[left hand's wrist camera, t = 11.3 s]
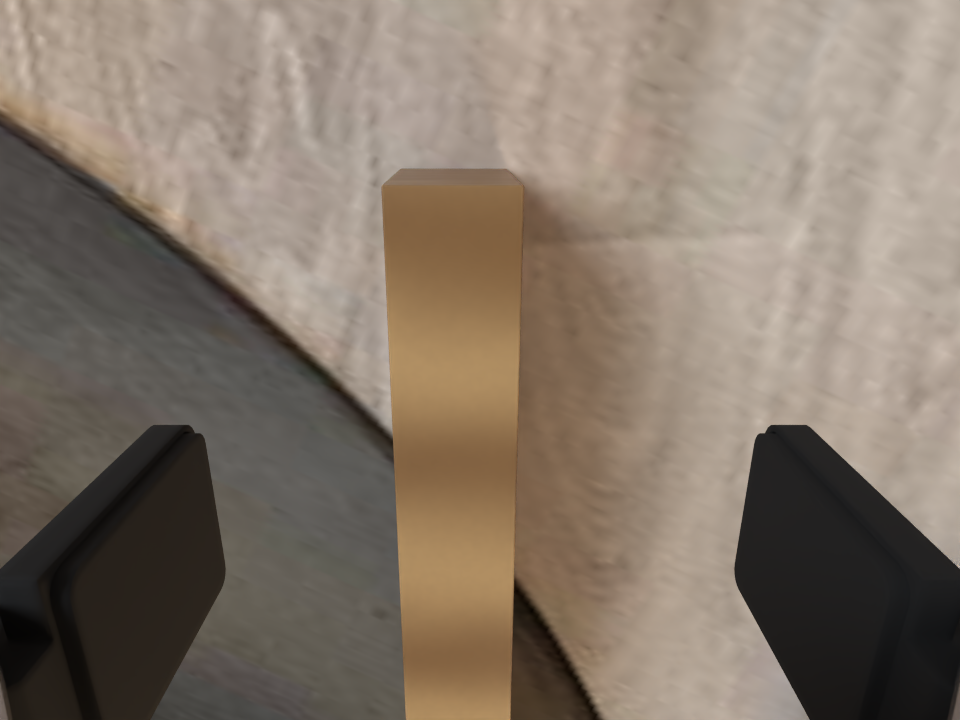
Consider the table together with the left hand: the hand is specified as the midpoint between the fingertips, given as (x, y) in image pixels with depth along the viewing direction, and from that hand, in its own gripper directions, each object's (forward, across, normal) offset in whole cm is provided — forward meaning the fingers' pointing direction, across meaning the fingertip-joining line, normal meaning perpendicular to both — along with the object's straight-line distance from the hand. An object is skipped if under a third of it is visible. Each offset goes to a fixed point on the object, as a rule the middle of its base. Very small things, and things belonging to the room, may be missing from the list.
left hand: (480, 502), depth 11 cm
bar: (+18, -1, -32) cm, 36 cm away
